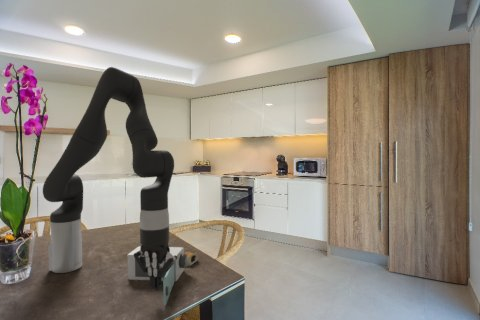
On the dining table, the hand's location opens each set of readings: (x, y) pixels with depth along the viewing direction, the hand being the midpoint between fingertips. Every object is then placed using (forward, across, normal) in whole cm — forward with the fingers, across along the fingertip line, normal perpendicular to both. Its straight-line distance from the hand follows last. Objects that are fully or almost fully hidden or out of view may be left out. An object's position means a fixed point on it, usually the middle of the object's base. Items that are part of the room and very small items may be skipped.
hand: (155, 288), depth 77 cm
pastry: (+5, +7, -27) cm, 29 cm away
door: (+3, -1, -6) cm, 7 cm away
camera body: (+4, +11, -15) cm, 19 cm away
